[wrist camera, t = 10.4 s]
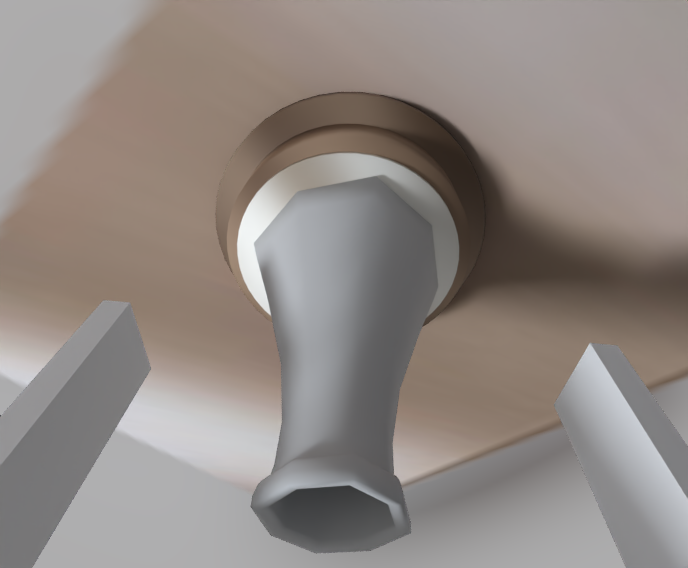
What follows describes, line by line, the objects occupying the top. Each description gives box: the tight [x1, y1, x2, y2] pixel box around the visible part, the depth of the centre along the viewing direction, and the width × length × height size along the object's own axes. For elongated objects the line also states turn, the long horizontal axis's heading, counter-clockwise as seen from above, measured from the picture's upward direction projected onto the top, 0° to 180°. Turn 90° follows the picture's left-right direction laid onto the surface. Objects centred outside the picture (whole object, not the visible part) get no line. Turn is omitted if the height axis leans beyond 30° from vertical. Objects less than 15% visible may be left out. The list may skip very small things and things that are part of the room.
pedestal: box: [216, 92, 485, 327], centre depth 17 cm, size 12×12×3 cm
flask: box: [251, 176, 438, 553], centre depth 12 cm, size 7×7×10 cm
